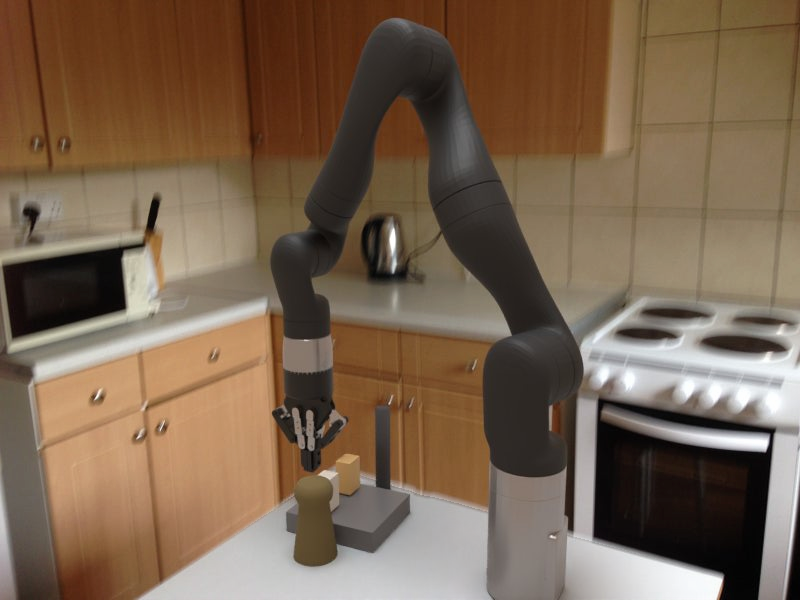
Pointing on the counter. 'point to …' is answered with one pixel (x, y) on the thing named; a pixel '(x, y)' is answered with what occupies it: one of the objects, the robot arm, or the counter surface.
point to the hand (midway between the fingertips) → (311, 469)
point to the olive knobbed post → (314, 522)
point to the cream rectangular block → (335, 483)
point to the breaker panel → (363, 516)
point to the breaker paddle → (348, 473)
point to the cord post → (382, 446)
